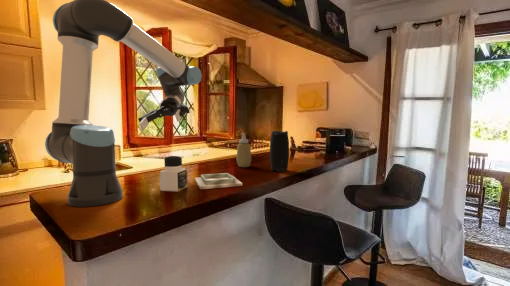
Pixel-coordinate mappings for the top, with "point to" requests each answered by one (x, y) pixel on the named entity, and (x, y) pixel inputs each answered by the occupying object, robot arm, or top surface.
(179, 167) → the medicine bottle
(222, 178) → the collar tray
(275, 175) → the top surface
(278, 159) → the portable speaker
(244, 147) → the squeeze bottle
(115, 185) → the robot arm
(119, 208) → the top surface
